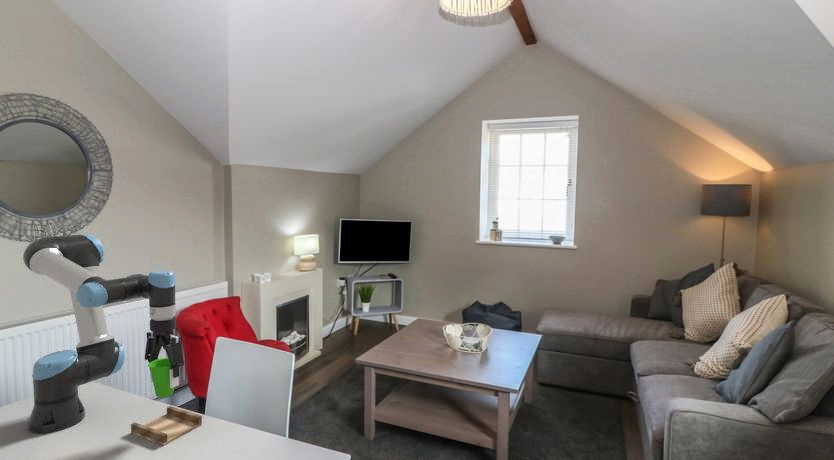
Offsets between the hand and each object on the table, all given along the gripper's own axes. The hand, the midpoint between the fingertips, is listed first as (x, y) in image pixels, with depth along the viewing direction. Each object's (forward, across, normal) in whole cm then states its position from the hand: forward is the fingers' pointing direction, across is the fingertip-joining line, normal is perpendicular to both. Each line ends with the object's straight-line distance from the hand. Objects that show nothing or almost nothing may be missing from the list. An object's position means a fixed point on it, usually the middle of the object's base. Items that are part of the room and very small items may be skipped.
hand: (164, 383), depth 146 cm
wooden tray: (+16, 0, +1) cm, 16 cm away
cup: (+4, 0, 0) cm, 4 cm away
